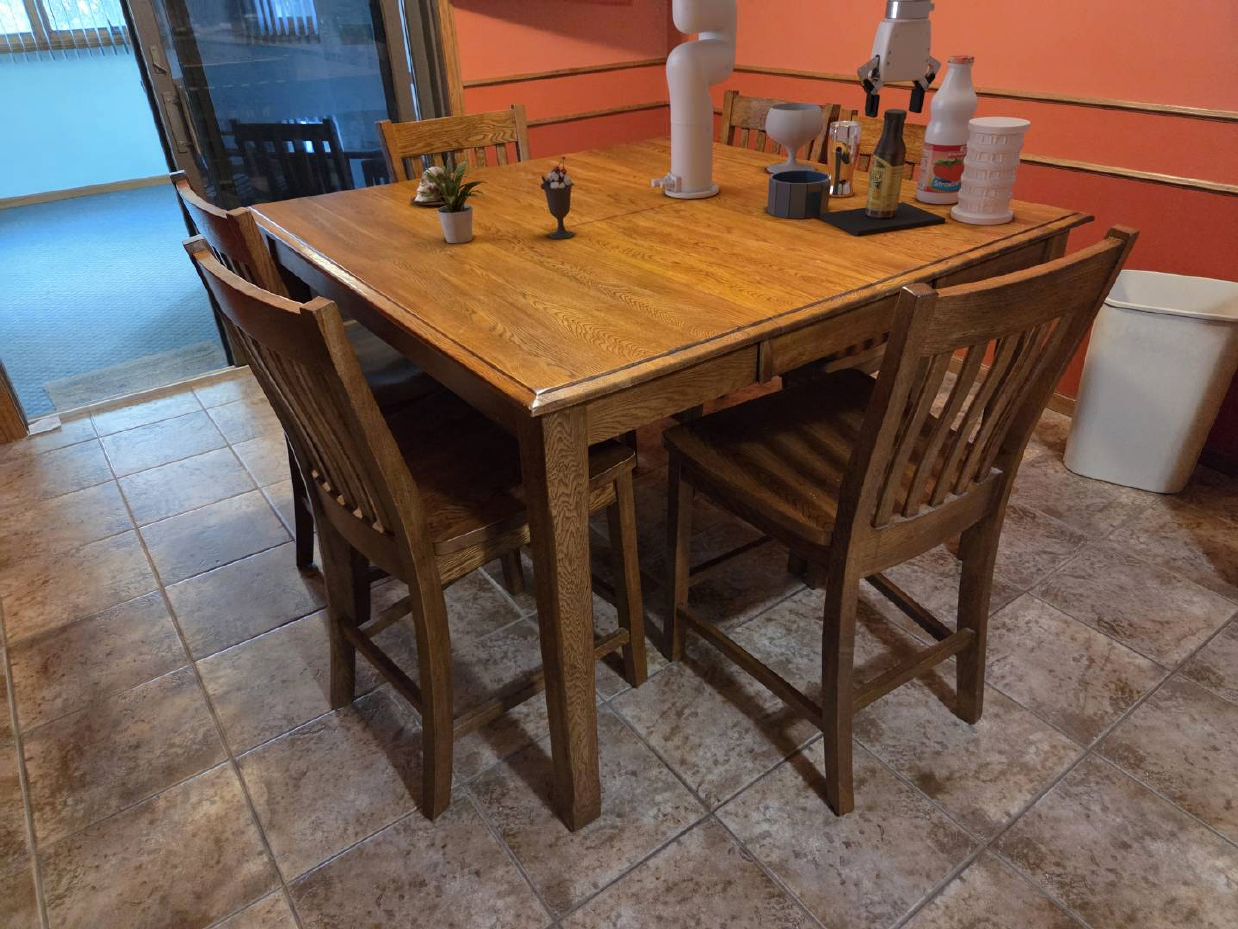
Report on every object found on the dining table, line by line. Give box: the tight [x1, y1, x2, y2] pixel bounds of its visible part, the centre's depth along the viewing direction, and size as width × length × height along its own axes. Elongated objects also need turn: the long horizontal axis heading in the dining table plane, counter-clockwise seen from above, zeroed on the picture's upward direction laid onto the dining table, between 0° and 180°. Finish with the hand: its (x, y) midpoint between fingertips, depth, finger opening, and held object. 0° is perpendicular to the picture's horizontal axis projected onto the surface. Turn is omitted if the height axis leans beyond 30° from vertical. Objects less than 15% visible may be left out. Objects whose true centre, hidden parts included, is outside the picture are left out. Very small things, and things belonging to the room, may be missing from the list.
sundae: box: [540, 156, 575, 240], centre depth 162 cm, size 7×7×15 cm
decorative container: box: [950, 116, 1031, 226], centre depth 160 cm, size 12×12×18 cm
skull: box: [410, 166, 459, 206], centre depth 193 cm, size 12×10×10 cm
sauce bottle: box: [865, 108, 908, 218], centre depth 159 cm, size 7×6×20 cm
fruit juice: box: [915, 54, 979, 205], centre depth 169 cm, size 9×9×28 cm
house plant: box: [415, 156, 485, 244], centre depth 161 cm, size 14×14×16 cm
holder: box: [766, 170, 831, 220], centre depth 172 cm, size 13×13×7 cm
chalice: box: [764, 102, 824, 174], centre depth 202 cm, size 14×14×15 cm
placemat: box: [819, 201, 946, 237], centre depth 165 cm, size 20×14×1 cm
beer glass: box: [826, 120, 862, 198], centre depth 180 cm, size 7×7×15 cm
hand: (893, 114), depth 155 cm, fingers open, 9 cm apart
